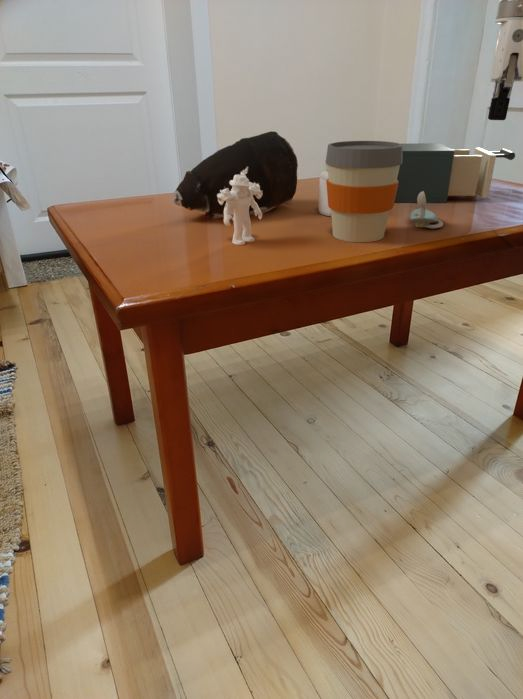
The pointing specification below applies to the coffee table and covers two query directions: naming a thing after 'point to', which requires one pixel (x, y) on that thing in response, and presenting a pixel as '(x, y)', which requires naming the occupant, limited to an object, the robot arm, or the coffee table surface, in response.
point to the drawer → (474, 171)
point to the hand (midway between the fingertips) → (496, 119)
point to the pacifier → (424, 215)
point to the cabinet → (424, 172)
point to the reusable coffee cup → (362, 187)
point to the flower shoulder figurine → (240, 206)
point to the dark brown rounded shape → (218, 169)
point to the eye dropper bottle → (323, 193)
